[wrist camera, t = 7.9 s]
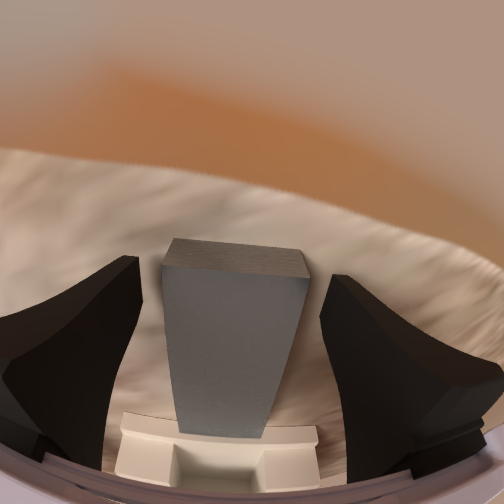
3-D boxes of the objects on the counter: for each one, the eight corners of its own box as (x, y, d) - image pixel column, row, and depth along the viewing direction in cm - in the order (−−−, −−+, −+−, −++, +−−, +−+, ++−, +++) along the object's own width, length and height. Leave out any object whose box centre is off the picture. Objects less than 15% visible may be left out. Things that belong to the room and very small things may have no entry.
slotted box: (280, 476, 24) (285, 520, 19) (150, 467, 23) (144, 512, 18) (315, 425, 18) (327, 493, 13) (124, 411, 17) (107, 479, 12)
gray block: (183, 401, 17) (179, 432, 15) (175, 233, 12) (161, 264, 9) (259, 407, 17) (260, 438, 15) (298, 245, 12) (310, 278, 10)
